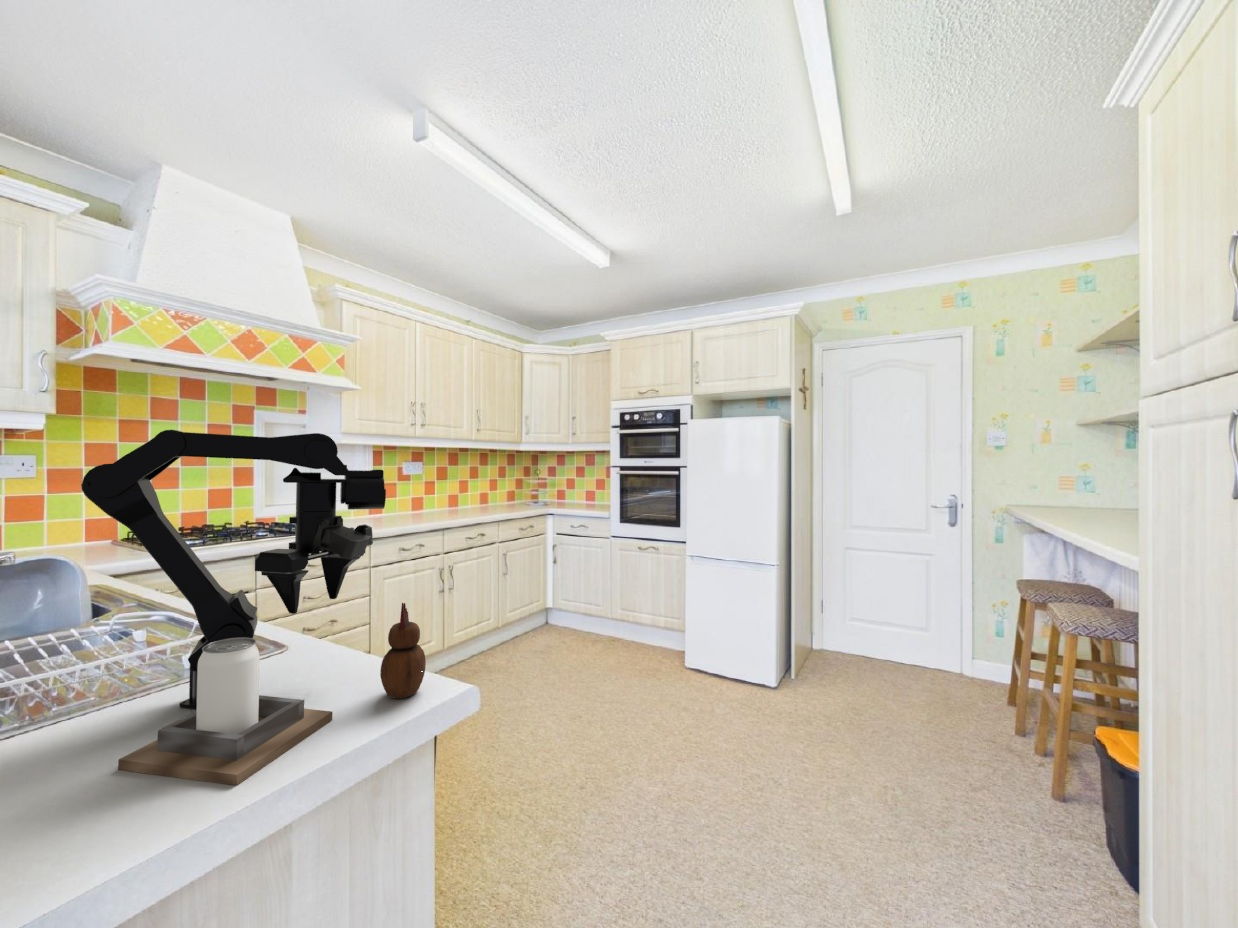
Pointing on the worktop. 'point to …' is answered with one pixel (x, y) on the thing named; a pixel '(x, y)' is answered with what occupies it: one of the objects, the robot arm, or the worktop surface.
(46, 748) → the worktop surface
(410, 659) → the wooden figurine
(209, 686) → the can
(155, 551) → the robot arm
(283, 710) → the holder
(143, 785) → the worktop surface
